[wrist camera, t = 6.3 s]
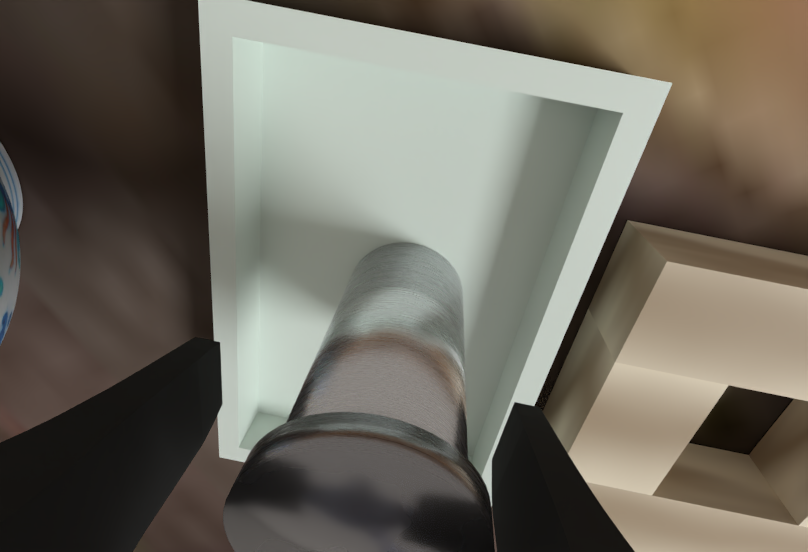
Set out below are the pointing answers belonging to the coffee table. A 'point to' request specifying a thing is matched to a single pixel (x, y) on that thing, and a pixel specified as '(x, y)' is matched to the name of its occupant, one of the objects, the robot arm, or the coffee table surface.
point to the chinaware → (9, 239)
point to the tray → (401, 195)
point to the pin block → (690, 392)
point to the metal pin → (374, 427)
